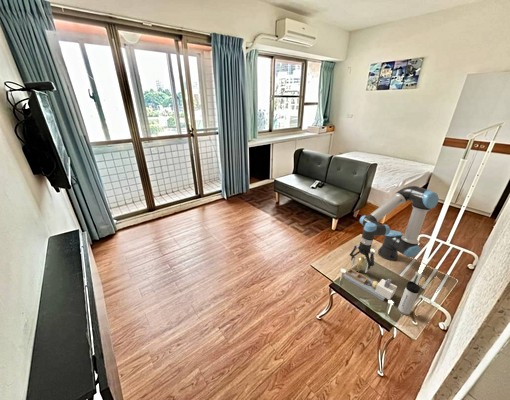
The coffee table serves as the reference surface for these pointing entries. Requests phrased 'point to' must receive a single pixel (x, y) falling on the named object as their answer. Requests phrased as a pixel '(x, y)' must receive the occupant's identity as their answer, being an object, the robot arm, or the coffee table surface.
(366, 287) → the board
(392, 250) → the robot arm
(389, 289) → the cover
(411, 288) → the travel mug
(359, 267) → the brass pin
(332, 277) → the coffee table surface
